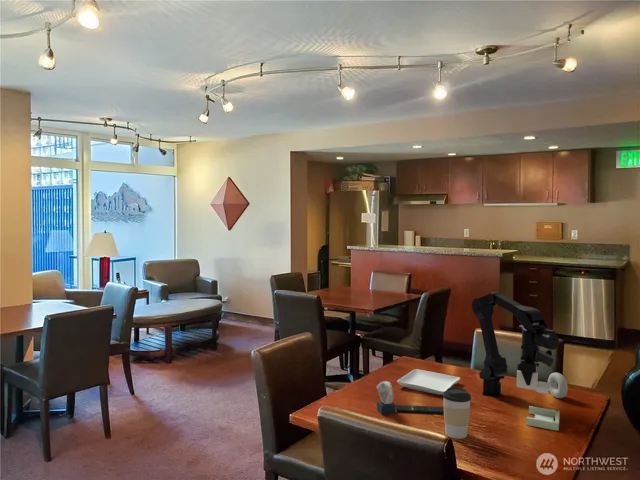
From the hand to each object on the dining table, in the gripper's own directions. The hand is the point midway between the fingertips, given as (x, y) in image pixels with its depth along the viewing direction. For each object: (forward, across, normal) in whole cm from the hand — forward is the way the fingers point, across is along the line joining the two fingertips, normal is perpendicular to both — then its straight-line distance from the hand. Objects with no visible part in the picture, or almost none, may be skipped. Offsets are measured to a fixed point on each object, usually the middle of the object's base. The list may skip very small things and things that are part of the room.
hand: (528, 384), depth 183 cm
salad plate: (+11, +7, +40) cm, 42 cm away
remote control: (+11, -20, +32) cm, 39 cm away
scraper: (+1, 0, -2) cm, 2 cm away
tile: (+10, -8, -6) cm, 15 cm away
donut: (+10, +20, -9) cm, 24 cm away
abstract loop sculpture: (+10, -28, +46) cm, 54 cm away
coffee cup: (+10, -34, +18) cm, 40 cm away
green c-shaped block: (+10, -8, -6) cm, 14 cm away
